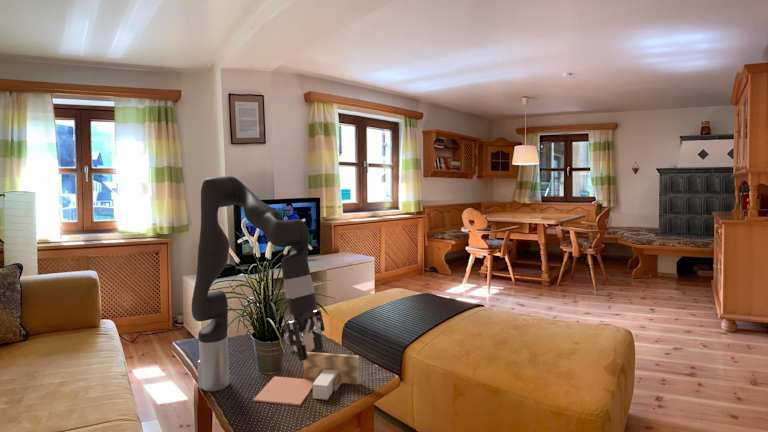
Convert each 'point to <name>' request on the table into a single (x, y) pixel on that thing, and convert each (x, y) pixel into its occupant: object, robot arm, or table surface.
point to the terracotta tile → (285, 391)
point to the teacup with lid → (308, 342)
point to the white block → (324, 384)
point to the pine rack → (332, 367)
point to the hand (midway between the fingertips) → (311, 354)
